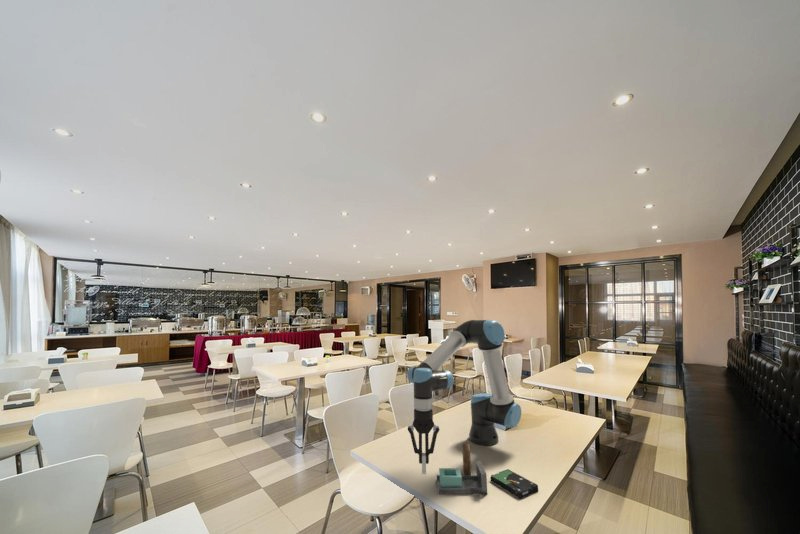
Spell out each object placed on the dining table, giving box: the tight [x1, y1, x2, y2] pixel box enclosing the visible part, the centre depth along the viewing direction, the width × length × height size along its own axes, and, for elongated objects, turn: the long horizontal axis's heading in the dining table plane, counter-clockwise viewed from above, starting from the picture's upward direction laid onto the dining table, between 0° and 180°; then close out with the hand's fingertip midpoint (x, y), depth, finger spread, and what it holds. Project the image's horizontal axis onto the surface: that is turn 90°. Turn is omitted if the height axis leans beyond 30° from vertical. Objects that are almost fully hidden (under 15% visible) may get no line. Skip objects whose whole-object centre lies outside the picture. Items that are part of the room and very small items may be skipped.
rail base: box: [436, 461, 488, 495], centre depth 123 cm, size 18×10×7 cm, turn 88°
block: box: [438, 467, 462, 487], centre depth 123 cm, size 8×7×4 cm
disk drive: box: [490, 468, 539, 500], centre depth 123 cm, size 10×3×15 cm
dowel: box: [461, 442, 472, 475], centre depth 132 cm, size 3×3×12 cm
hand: (424, 472), depth 124 cm, fingers closed
